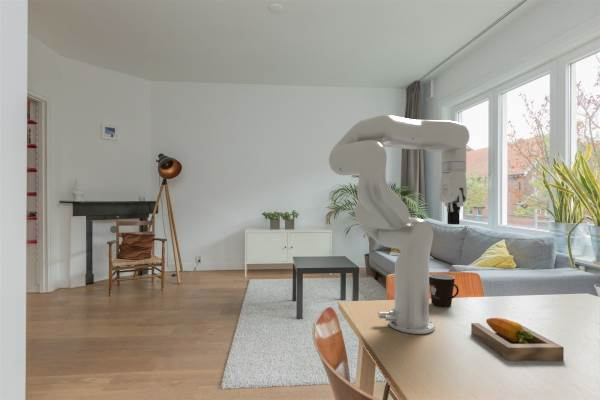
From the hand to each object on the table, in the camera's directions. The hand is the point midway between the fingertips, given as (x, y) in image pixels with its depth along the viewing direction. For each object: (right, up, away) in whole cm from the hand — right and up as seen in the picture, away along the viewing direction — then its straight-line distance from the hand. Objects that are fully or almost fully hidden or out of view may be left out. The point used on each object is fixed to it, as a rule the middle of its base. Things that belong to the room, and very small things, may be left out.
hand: (453, 224), depth 113 cm
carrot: (+3, -27, -14) cm, 30 cm away
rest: (+4, -29, -26) cm, 39 cm away
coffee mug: (0, -29, +8) cm, 30 cm away
